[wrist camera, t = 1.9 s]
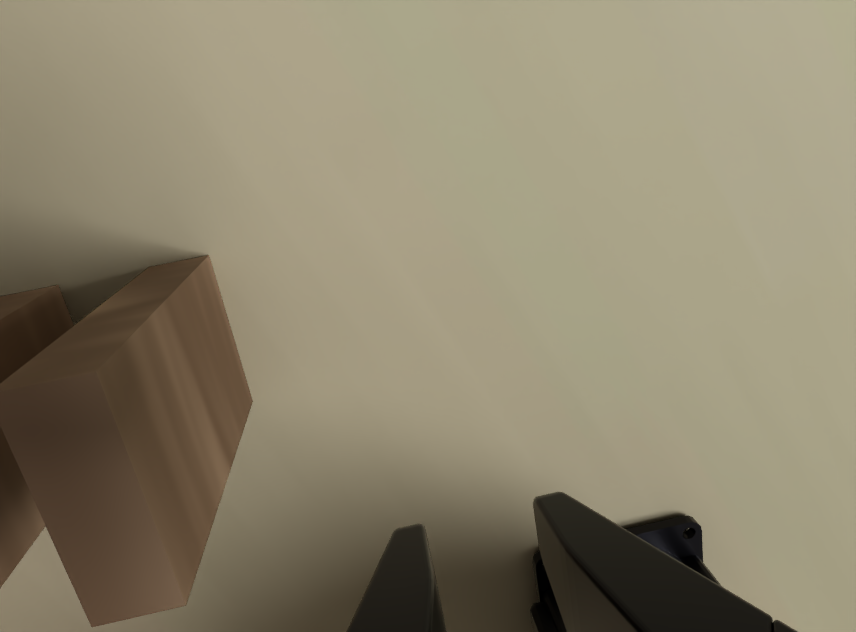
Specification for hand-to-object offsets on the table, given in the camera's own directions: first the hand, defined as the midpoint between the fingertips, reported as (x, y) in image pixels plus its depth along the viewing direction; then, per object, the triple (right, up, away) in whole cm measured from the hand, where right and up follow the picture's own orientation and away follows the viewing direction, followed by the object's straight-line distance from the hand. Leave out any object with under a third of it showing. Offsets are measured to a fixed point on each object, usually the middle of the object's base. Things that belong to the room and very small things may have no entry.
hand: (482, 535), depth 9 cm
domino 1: (-8, +2, +11) cm, 14 cm away
